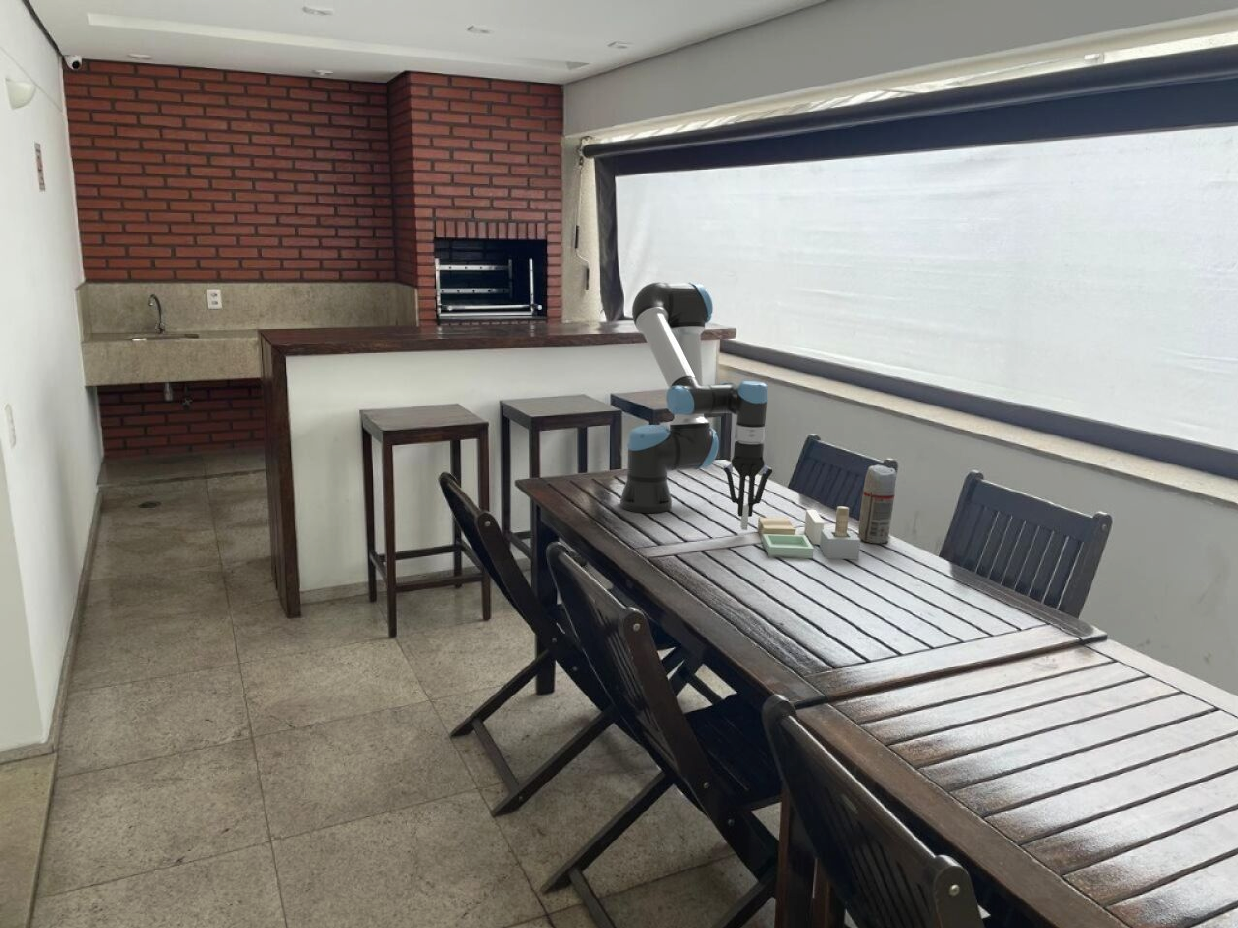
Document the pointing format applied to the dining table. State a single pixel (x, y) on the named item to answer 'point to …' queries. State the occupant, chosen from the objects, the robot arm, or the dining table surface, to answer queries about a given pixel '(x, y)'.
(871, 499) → the spray can
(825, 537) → the socket block
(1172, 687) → the dining table surface
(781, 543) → the tray
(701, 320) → the robot arm
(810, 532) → the block
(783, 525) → the grooved wooden block
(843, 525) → the dowel
